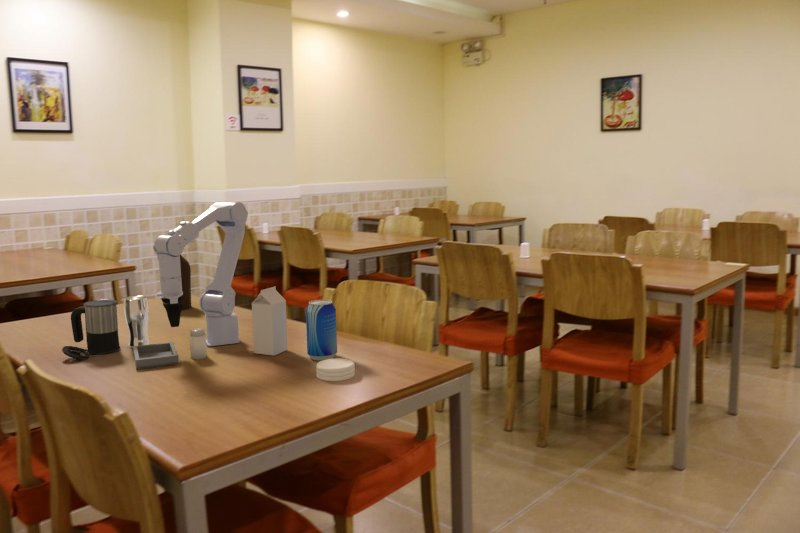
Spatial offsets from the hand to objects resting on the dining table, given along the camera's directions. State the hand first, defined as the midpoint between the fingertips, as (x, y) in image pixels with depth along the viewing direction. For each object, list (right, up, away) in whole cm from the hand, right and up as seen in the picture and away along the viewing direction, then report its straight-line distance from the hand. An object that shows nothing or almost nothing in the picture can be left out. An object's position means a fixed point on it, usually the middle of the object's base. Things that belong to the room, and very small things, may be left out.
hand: (173, 323), depth 192 cm
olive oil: (-22, 0, +70) cm, 73 cm away
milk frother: (-26, -10, +5) cm, 28 cm away
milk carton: (+27, -9, +4) cm, 29 cm away
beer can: (+43, -10, -2) cm, 44 cm away
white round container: (+48, -12, -19) cm, 53 cm away
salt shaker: (+7, -10, 0) cm, 12 cm away
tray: (-5, -10, -2) cm, 11 cm away
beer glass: (-15, -8, +14) cm, 22 cm away
